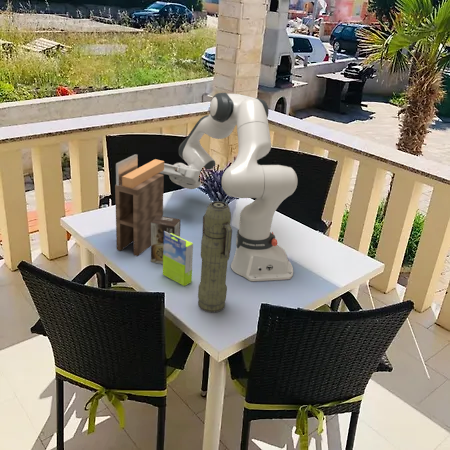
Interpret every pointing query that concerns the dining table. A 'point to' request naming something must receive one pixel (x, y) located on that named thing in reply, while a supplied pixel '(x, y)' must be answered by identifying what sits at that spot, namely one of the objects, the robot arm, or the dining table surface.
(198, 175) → the robot arm
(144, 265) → the dining table surface
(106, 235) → the dining table surface
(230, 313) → the dining table surface
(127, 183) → the orange rectangular bar
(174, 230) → the coffee box
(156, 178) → the shelf
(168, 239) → the box
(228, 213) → the thermos
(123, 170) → the bookend
